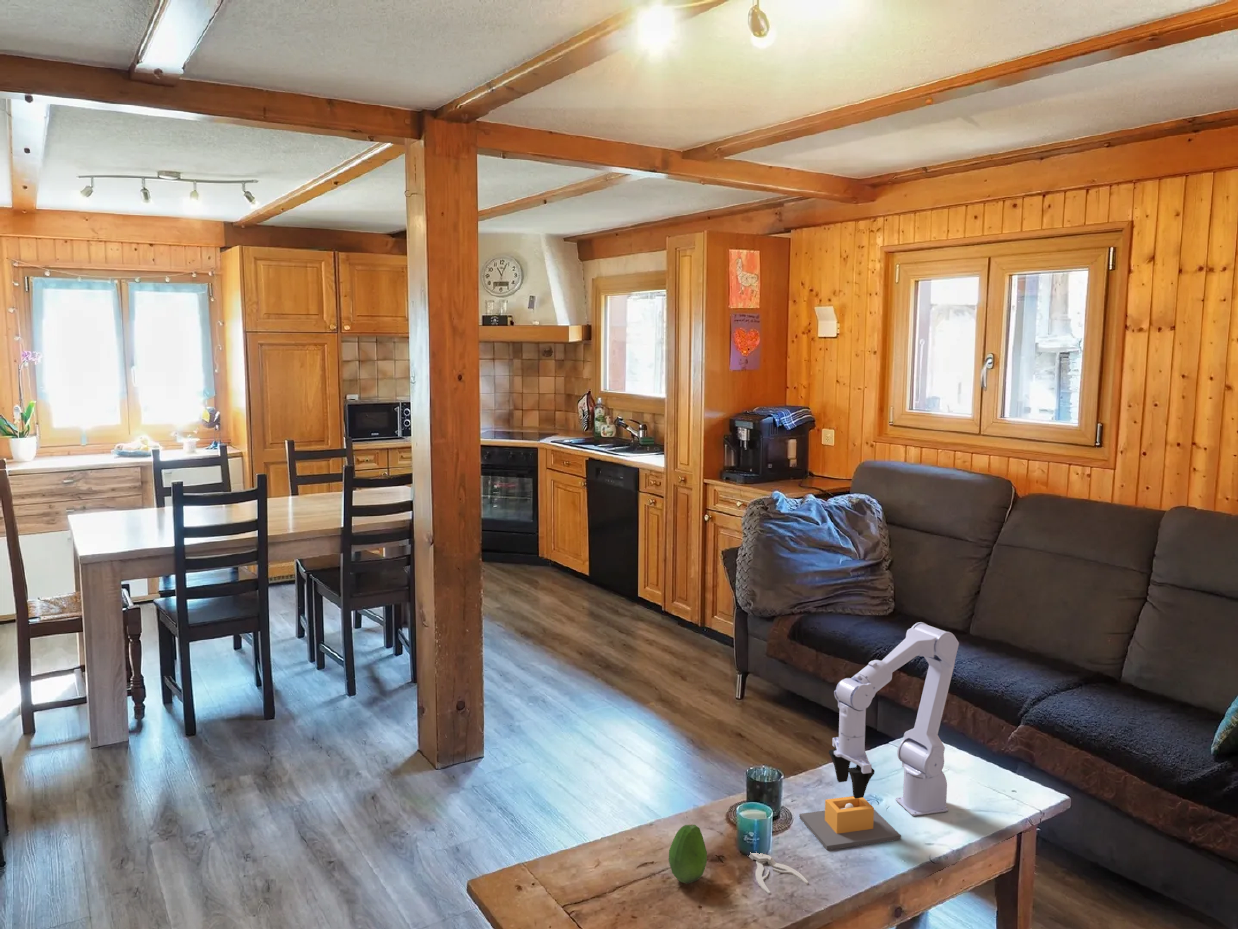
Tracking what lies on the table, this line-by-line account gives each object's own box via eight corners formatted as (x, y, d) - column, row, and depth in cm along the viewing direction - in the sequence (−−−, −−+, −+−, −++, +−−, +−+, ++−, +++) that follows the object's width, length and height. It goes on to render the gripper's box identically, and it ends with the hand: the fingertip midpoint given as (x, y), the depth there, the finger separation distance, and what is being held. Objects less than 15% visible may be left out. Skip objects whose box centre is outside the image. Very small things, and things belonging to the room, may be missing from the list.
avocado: (714, 880, 184) (715, 826, 182) (688, 896, 178) (688, 840, 177) (686, 864, 189) (687, 811, 188) (660, 878, 184) (660, 824, 183)
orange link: (860, 815, 207) (861, 795, 206) (873, 828, 201) (873, 808, 201) (824, 820, 205) (825, 799, 204) (836, 833, 199) (837, 812, 199)
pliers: (767, 889, 179) (731, 850, 192) (767, 896, 179) (731, 857, 193) (809, 878, 182) (771, 841, 196) (809, 885, 182) (771, 847, 196)
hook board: (869, 808, 212) (869, 784, 211) (900, 839, 199) (901, 814, 198) (799, 818, 208) (799, 793, 207) (826, 850, 194) (827, 824, 194)
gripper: (821, 721, 207) (819, 776, 208) (851, 748, 193) (849, 807, 194) (848, 718, 208) (847, 773, 210) (880, 744, 194) (878, 803, 196)
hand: (850, 789), depth 202 cm, fingers open, 7 cm apart
